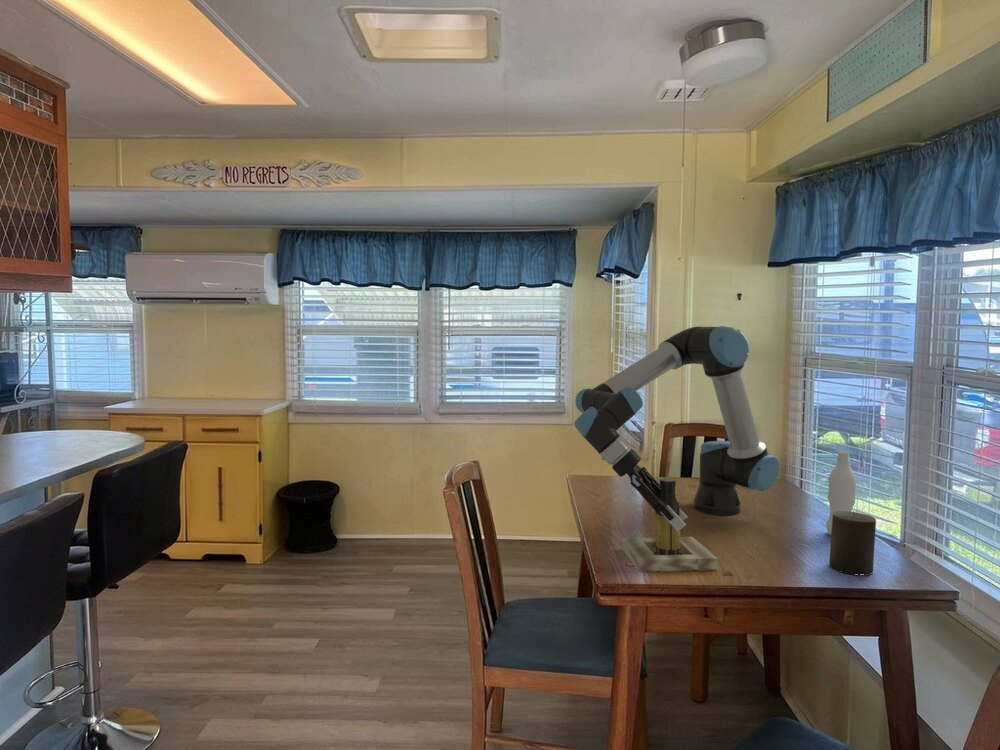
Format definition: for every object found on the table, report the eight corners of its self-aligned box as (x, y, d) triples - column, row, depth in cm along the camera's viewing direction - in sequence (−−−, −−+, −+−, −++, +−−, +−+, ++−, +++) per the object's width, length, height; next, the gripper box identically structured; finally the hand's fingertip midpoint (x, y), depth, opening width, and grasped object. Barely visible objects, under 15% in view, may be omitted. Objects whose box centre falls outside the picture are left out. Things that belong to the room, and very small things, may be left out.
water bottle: (850, 533, 182) (854, 450, 180) (855, 540, 176) (860, 455, 174) (823, 530, 185) (827, 449, 183) (828, 537, 178) (832, 453, 176)
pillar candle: (857, 578, 149) (861, 518, 148) (820, 564, 157) (824, 508, 156) (881, 572, 153) (885, 514, 152) (844, 559, 162) (847, 503, 161)
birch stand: (691, 547, 169) (692, 536, 169) (717, 570, 153) (717, 558, 153) (621, 548, 167) (621, 538, 167) (639, 571, 152) (639, 560, 151)
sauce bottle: (676, 549, 163) (679, 476, 162) (682, 558, 157) (684, 482, 155) (652, 548, 164) (654, 476, 162) (657, 557, 157) (659, 481, 156)
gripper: (616, 459, 173) (674, 522, 168) (604, 473, 155) (668, 544, 151) (636, 442, 171) (695, 505, 166) (626, 455, 153) (691, 526, 148)
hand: (682, 524), depth 158 cm, fingers closed on sauce bottle, 6 cm apart
